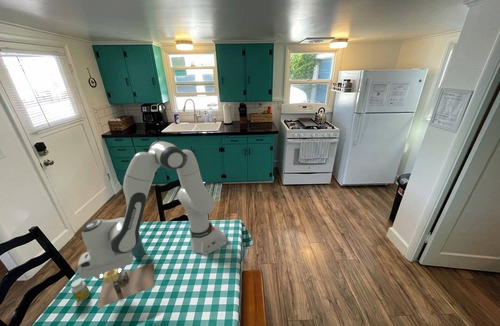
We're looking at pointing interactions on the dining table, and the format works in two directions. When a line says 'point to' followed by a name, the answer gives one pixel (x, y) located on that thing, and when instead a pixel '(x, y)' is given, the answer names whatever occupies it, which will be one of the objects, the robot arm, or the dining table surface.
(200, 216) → the robot arm
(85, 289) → the supplement bottle
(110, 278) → the loose gear
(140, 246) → the beverage bottle
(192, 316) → the dining table surface
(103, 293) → the gear board
